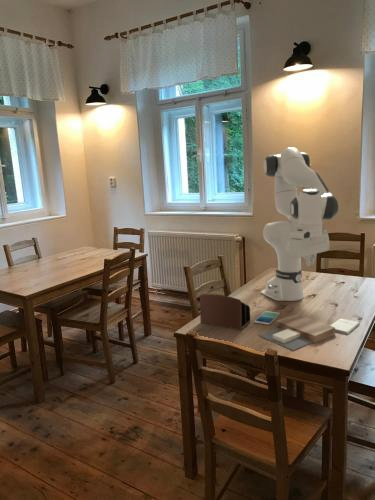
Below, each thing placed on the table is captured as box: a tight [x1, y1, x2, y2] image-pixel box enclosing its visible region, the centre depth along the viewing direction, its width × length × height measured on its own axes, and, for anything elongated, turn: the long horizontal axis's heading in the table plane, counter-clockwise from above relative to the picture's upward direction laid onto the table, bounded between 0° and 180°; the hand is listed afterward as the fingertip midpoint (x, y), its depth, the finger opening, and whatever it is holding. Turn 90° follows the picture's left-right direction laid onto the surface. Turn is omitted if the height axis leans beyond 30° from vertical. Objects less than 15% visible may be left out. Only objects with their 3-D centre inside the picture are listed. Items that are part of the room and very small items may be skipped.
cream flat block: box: [273, 329, 300, 343], centre depth 160 cm, size 6×9×2 cm, turn 124°
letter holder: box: [199, 293, 251, 331], centre depth 178 cm, size 10×20×14 cm, turn 59°
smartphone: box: [253, 310, 281, 326], centre depth 182 cm, size 8×1×15 cm
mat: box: [258, 327, 313, 352], centre depth 160 cm, size 18×11×1 cm, turn 34°
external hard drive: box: [330, 318, 360, 335], centre depth 168 cm, size 2×8×12 cm
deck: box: [275, 313, 336, 344], centre depth 166 cm, size 20×12×3 cm, turn 34°
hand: (309, 265), depth 162 cm, fingers closed
